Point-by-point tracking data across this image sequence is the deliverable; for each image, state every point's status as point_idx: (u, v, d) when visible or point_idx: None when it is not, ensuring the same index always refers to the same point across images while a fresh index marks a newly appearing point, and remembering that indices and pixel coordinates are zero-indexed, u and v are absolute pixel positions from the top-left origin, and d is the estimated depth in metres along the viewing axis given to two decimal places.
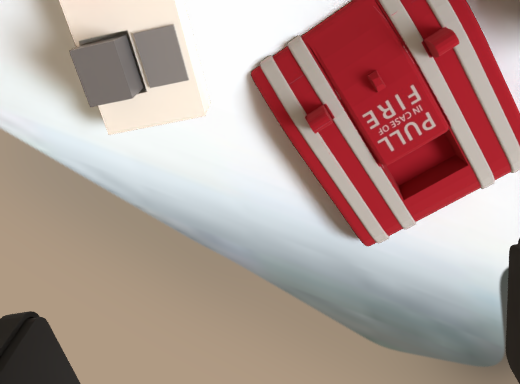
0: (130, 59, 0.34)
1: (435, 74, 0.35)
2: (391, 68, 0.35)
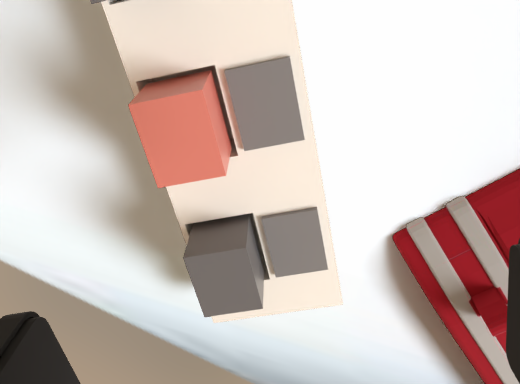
0: (255, 248, 0.25)
1: None
2: None
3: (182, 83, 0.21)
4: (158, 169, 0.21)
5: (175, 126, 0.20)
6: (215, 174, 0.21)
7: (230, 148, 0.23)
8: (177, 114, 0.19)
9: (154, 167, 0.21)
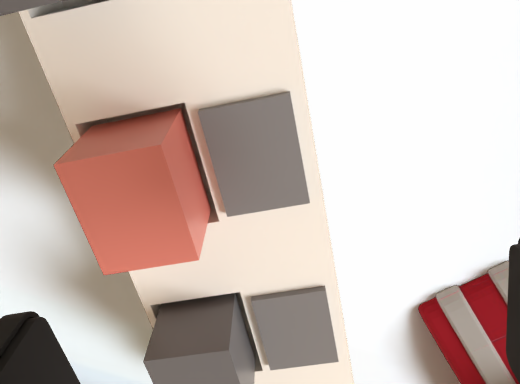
0: (242, 336, 0.19)
1: None
2: None
3: (137, 129, 0.15)
4: (102, 251, 0.15)
5: (124, 194, 0.14)
6: (183, 258, 0.15)
7: (208, 211, 0.17)
8: (126, 177, 0.13)
9: (97, 248, 0.14)
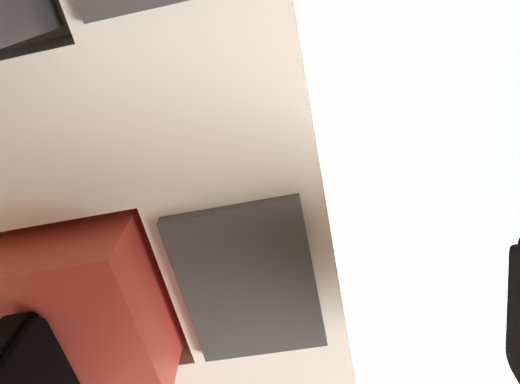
0: None
1: None
2: None
3: (84, 221, 0.10)
4: None
5: (59, 323, 0.09)
6: None
7: None
8: (61, 302, 0.09)
9: None
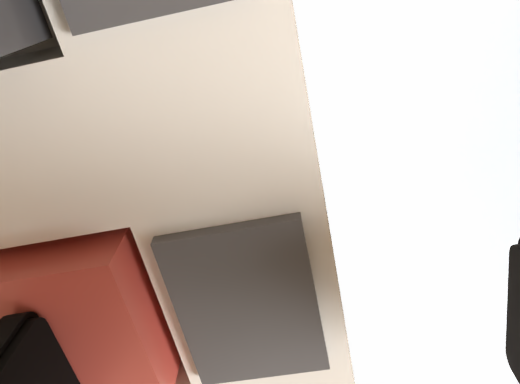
0: None
1: None
2: None
3: None
4: None
5: (60, 328, 0.09)
6: None
7: None
8: (61, 307, 0.09)
9: None
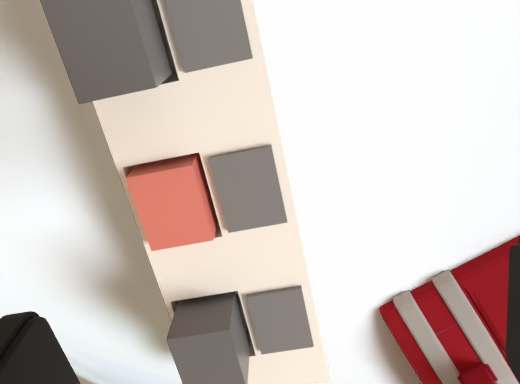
0: (240, 325, 0.25)
1: None
2: None
3: (175, 157, 0.23)
4: (151, 234, 0.23)
5: (168, 196, 0.22)
6: (203, 239, 0.23)
7: None
8: (170, 186, 0.22)
9: (148, 232, 0.23)
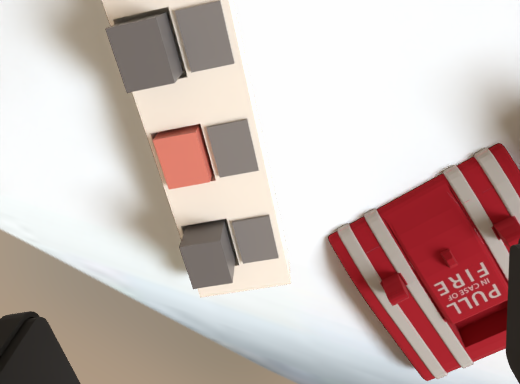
0: (228, 242, 0.37)
1: (502, 252, 0.38)
2: (463, 247, 0.38)
3: (184, 127, 0.35)
4: (169, 178, 0.35)
5: (180, 152, 0.34)
6: (203, 181, 0.35)
7: None
8: (181, 145, 0.33)
9: (167, 176, 0.34)
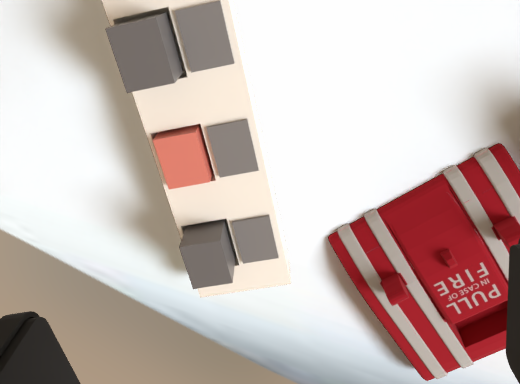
0: (228, 242, 0.37)
1: (502, 252, 0.38)
2: (462, 248, 0.38)
3: (184, 127, 0.35)
4: (169, 178, 0.35)
5: (180, 152, 0.34)
6: (203, 181, 0.35)
7: None
8: (181, 145, 0.33)
9: (167, 176, 0.34)
